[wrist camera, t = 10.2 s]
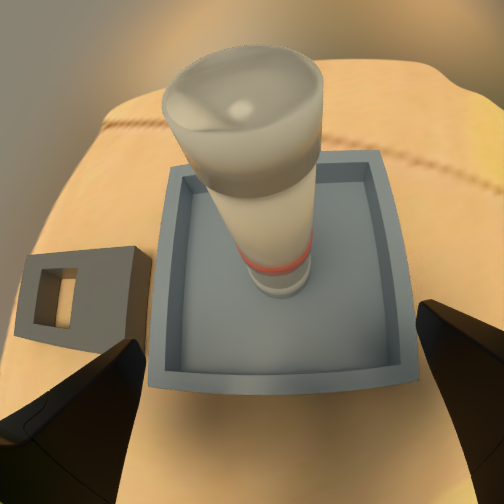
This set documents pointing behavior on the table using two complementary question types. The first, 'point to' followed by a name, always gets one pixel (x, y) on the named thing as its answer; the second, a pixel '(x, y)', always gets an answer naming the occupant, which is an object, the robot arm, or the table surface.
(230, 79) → the cup
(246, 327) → the tray
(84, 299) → the block
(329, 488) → the table surface
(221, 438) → the table surface
